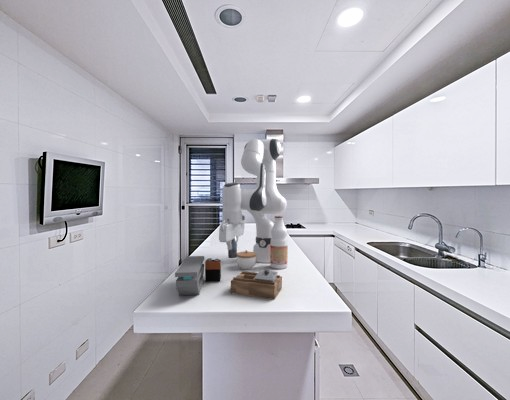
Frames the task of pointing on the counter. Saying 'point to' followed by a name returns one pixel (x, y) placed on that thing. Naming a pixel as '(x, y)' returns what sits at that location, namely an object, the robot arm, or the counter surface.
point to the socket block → (255, 286)
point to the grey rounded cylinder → (233, 249)
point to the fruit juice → (278, 244)
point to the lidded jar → (246, 259)
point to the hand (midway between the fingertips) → (232, 248)
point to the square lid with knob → (267, 275)
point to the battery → (212, 270)
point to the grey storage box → (190, 276)
